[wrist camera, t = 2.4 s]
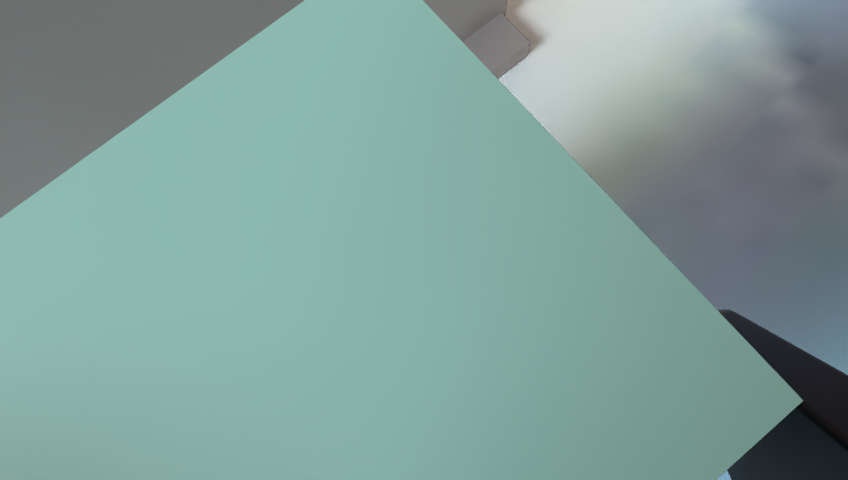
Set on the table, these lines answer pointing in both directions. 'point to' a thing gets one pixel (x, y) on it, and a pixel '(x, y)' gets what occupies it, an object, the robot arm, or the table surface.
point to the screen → (146, 68)
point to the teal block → (356, 287)
